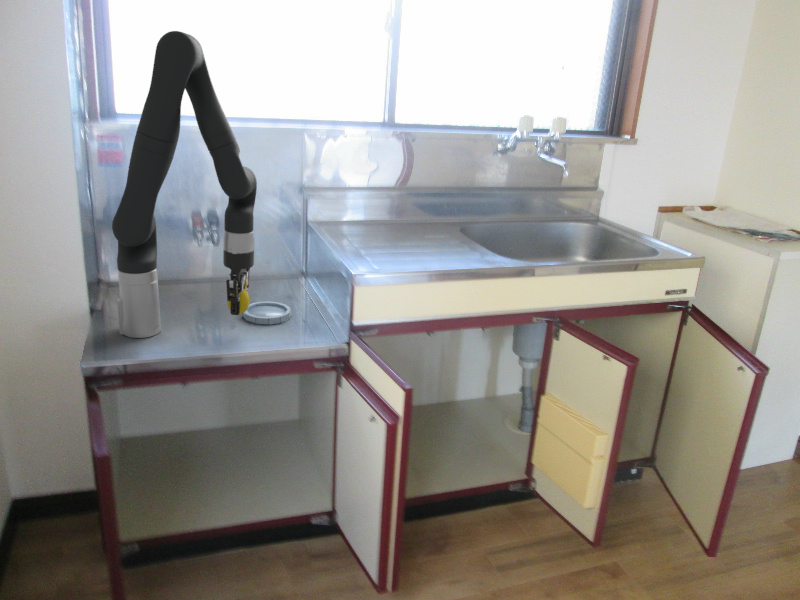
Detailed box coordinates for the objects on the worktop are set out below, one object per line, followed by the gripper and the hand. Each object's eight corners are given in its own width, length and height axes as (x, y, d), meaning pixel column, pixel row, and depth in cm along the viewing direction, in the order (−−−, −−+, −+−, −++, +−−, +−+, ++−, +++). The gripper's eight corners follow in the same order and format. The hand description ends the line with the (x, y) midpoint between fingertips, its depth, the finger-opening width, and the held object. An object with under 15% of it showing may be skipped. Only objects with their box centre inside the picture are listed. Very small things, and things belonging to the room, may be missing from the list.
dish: (238, 322, 183) (238, 316, 182) (249, 305, 195) (249, 300, 195) (285, 325, 183) (285, 319, 182) (293, 309, 195) (294, 303, 195)
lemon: (222, 315, 173) (222, 286, 170) (237, 310, 177) (237, 281, 175) (239, 321, 170) (239, 291, 168) (253, 315, 175) (254, 286, 172)
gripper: (231, 239, 174) (231, 299, 180) (215, 254, 161) (215, 318, 167) (260, 241, 174) (259, 302, 180) (246, 257, 161) (245, 321, 167)
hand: (238, 309), depth 173 cm, fingers closed on lemon, 5 cm apart
